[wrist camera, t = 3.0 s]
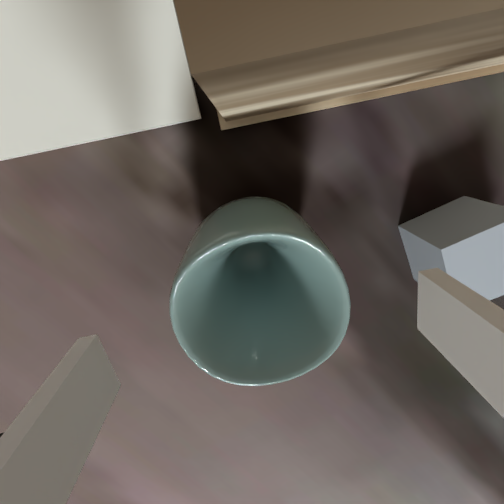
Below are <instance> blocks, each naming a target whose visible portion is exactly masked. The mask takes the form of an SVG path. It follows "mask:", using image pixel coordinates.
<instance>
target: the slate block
mask: <svg viewBox="0 0 504 504" xmlns="http://www.w3.org/2000/svg"><path fill="white" fill-rule="evenodd" d="M398 227H399V231H400V234H401V237H402V241H403V244H404V247H405V251H406V254H407V257H408V261H409V264H410V267H411V271H412V274H413V277H414V279H415V280H416V281H417V282H418V271H423V270H428V269H433V268H439V269H440V270H442V271H444V272H445V273H447V274H448V275H450V276H451V277H453V278H455V279H456V280H458V281H459V282H461V283H462V284H464V285H466V286H467V287H469V288H470V289H472V290H473V291H475V292H477V293H478V294H480V295H481V296H483V297H484V298H486V299H488V300H492V299H494V298H497V297H499V296H502V295H504V206H501V205H497V204H493V203H489V202H486V201H482V200H478V199H474V198H471V197H467V196H463V197H460V198H458V199H456V200H454V201H452V202H449V203H447V204H445V205H443V206H440V207H438V208H436V209H434V210H432V211H429V212H427V213H425V214H423V215H421V216H418V217H416V218H414V219H412V220H410V221H407V222H405V223H403V224H401V225H398Z"/></svg>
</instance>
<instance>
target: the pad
mask: <svg viewBox="0 0 504 504" xmlns="http://www.w3.org/2000/svg"><path fill="white" fill-rule="evenodd" d="M198 119H202V118H201V114H200V110H199V106H198V101H197V97H196V93H195V88H194V84H193V80H192V76H191V72H190V68H189V63H188V59H187V55H186V51H185V46H184V42H183V38H182V34H181V29H180V25H179V21H178V17H177V12H176V8H175V4H174V0H0V161H2V160H7V159H12V158H17V157H21V156H26V155H31V154H36V153H41V152H45V151H50V150H55V149H60V148H64V147H69V146H74V145H79V144H84V143H88V142H93V141H98V140H103V139H107V138H112V137H117V136H122V135H127V134H131V133H136V132H141V131H146V130H150V129H155V128H160V127H165V126H170V125H174V124H179V123H184V122H189V121H193V120H198Z"/></svg>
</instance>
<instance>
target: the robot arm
mask: <svg viewBox="0 0 504 504" xmlns="http://www.w3.org/2000/svg"><path fill="white" fill-rule="evenodd" d="M417 329H418V330H419V331H420V332H421V333H422V334H423V335H424V336H425V337H426V338H427V339H428V340H429V341H430V342H431V343H432V344H433V345H434V346H435V347H436V348H437V349H438V350H439V351H440V352H441V354H442V355H443V356H444V357H445V358H446V359H447V360H448V361H449V362H450V363H451V364H452V365H453V366H454V367H455V368H456V369H457V370H458V371H459V372H460V373H461V374H462V375H463V376H464V377H465V378H466V380H467V381H468V382H469V383H470V384H471V385H472V386H473V387H474V388H475V389H476V390H477V391H478V392H479V393H480V394H481V395H482V396H483V397H484V398H485V399H486V400H487V401H488V402H489V403H490V404H491V405H492V407H493V408H494V409H495V410H496V411H497V412H498V413H499V414H500V415H501V416H502V417H503V418H504V310H503V309H502V308H500V307H499V306H497V305H495V304H494V303H492V302H491V301H489V300H488V299H486V298H484V297H483V296H481V295H480V294H478V293H477V292H475V291H473V290H472V289H470V288H469V287H467V286H466V285H464V284H462V283H461V282H459V281H458V280H456V279H455V278H453V277H451V276H450V275H448V274H447V273H445V272H444V271H442V270H440V269H439V268H433V269H428V270H423V271H418V312H417ZM120 386H121V384H120V382H119V380H118V378H117V376H116V373H115V371H114V369H113V367H112V365H111V363H110V361H109V359H108V356H107V354H106V352H105V350H104V348H103V346H102V344H101V342H100V339H99V337H98V335H97V334H96V335H91V336H86V337H81V338H78V340H77V341H76V342H75V343H74V345H73V346H72V347H71V348H70V350H69V351H68V352H67V353H66V355H65V356H64V357H63V359H62V360H61V361H60V362H59V364H58V365H57V366H56V367H55V369H54V370H53V371H52V373H51V374H50V375H49V376H48V378H47V379H46V380H45V381H44V383H43V384H42V385H41V387H40V388H39V389H38V390H37V392H36V393H35V394H34V395H33V397H32V398H31V399H30V400H29V402H28V403H27V404H26V406H25V407H24V408H23V409H22V411H21V412H20V413H19V414H18V416H17V417H16V418H15V420H14V421H13V422H12V423H11V425H10V426H9V427H8V428H7V430H6V431H5V432H4V433H1V434H0V504H66V503H67V500H68V498H69V496H70V494H71V492H72V490H73V487H74V485H75V483H76V481H77V479H78V477H79V475H80V472H81V470H82V468H83V466H84V464H85V462H86V459H87V457H88V455H89V453H90V451H91V449H92V447H93V444H94V442H95V440H96V438H97V436H98V434H99V431H100V429H101V427H102V425H103V423H104V421H105V419H106V416H107V414H108V412H109V410H110V408H111V406H112V403H113V401H114V399H115V397H116V395H117V393H118V391H119V388H120Z"/></svg>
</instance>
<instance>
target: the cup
mask: <svg viewBox="0 0 504 504" xmlns="http://www.w3.org/2000/svg"><path fill="white" fill-rule="evenodd" d="M350 305H351V303H350V296H349V290H348V286H347V283H346V280H345V277H344V275H343V272H342V269H341V267H340V266H339V264H338V262H337V261H336V259H335V258H334V256H333V254H332V253H331V251H330V250H329V248H328V247H327V246H326V244H325V243H324V242H323V241H322V239H321V238H320V237H319V236H318V234H317V233H316V232H315V231H314V230H313V229H312V227H311V226H310V225H309V224H308V223H307V222H306V221H305V220H304V219H303V218H302V217H301V216H300V215H299V214H298V213H297V212H296V211H295V210H293V209H292V208H290V207H289V206H287V205H286V204H284V203H283V202H281V201H278V200H275V199H272V198H269V197H261V196H252V197H243V198H240V199H236V200H233V201H230V202H228V203H226V204H224V205H222V206H220V207H219V208H217V209H216V210H215V211H213V212H212V213H211V214H209V216H208V217H207V218H206V219H205V220H204V221H203V222H202V223H201V224H200V225H199V227H198V228H197V230H196V232H195V233H194V235H193V237H192V238H191V240H190V242H189V244H188V246H187V248H186V250H185V252H184V254H183V257H182V259H181V261H180V263H179V266H178V268H177V271H176V274H175V277H174V281H173V284H172V288H171V292H170V318H171V323H172V327H173V330H174V333H175V335H176V337H177V339H178V342H179V344H180V345H181V347H182V348H183V350H184V351H185V352H186V354H187V355H188V357H189V358H190V359H191V360H192V361H193V362H194V363H195V364H196V365H197V366H198V367H199V368H200V369H202V370H203V371H205V372H206V373H208V374H209V375H211V376H212V377H215V378H217V379H219V380H222V381H224V382H227V383H232V384H236V385H244V386H261V385H270V384H275V383H279V382H284V381H288V380H290V379H293V378H296V377H298V376H301V375H303V374H305V373H307V372H309V371H311V370H312V369H314V368H316V367H317V366H319V365H320V364H321V363H323V362H324V361H325V360H327V359H328V358H329V357H330V356H331V355H332V354H333V352H334V351H335V350H336V349H337V348H338V347H339V345H340V343H341V341H342V339H343V337H344V336H345V334H346V331H347V327H348V323H349V320H350Z"/></svg>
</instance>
